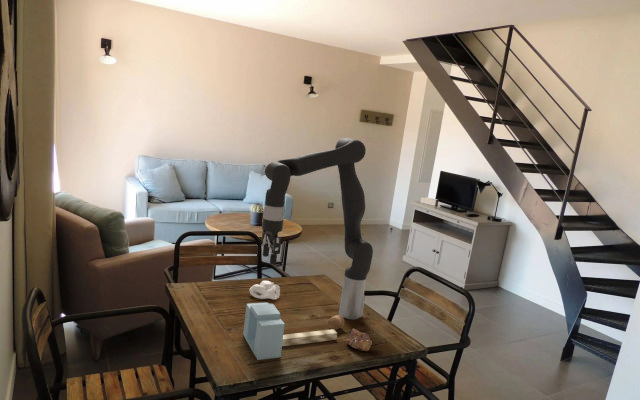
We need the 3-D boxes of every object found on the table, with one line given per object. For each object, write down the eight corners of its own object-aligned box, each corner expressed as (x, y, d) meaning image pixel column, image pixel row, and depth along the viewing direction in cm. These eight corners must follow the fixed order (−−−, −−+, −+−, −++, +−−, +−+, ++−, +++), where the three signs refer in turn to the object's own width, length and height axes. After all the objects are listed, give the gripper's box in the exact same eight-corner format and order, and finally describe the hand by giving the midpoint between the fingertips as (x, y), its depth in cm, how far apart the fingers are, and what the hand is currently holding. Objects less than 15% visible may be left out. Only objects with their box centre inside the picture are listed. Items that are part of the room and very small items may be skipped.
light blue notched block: (264, 333, 164) (268, 298, 162) (280, 357, 149) (285, 319, 147) (243, 335, 160) (247, 299, 158) (257, 359, 145) (262, 321, 143)
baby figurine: (246, 296, 195) (251, 277, 199) (270, 305, 201) (274, 286, 205) (256, 295, 188) (261, 274, 192) (281, 303, 194) (285, 284, 198)
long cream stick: (332, 336, 169) (333, 329, 169) (336, 340, 166) (337, 332, 166) (278, 343, 159) (279, 335, 158) (281, 347, 156) (282, 339, 156)
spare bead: (332, 324, 178) (334, 312, 178) (343, 329, 176) (345, 317, 175) (327, 327, 175) (329, 315, 174) (338, 332, 172) (339, 320, 172)
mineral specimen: (336, 337, 165) (345, 321, 166) (347, 343, 170) (356, 327, 171) (360, 352, 156) (369, 334, 157) (370, 358, 161) (379, 340, 162)
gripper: (290, 222, 157) (285, 266, 160) (276, 212, 170) (272, 253, 173) (269, 222, 154) (265, 267, 157) (257, 212, 167) (253, 254, 169)
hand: (269, 259), depth 165 cm, fingers open, 8 cm apart
